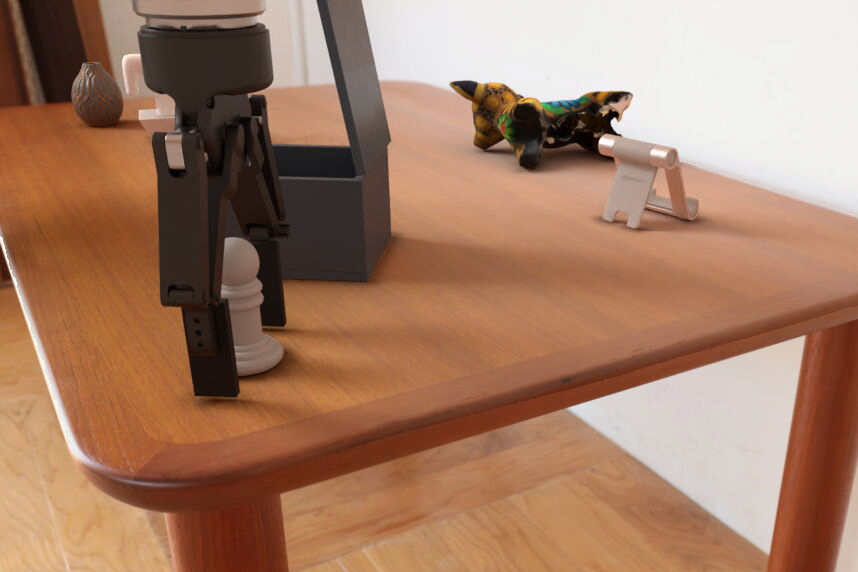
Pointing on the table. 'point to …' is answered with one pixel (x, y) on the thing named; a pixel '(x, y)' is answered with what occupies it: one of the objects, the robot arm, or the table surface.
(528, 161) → the dog figurine
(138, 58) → the figurine
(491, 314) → the table surface
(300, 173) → the chest
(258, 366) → the chess piece
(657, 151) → the tablet stand
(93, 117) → the vase
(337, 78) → the lid
